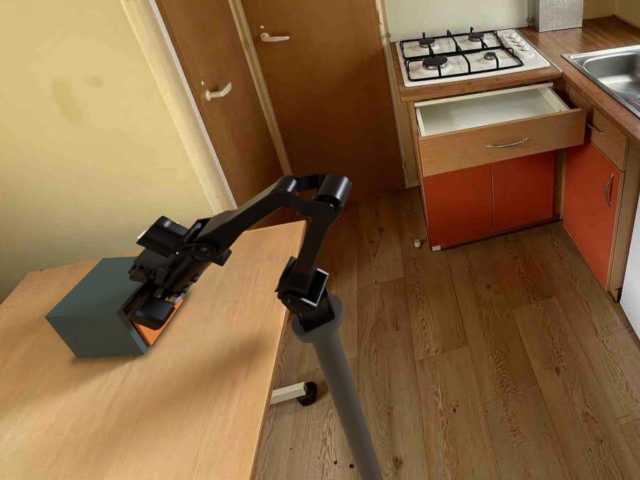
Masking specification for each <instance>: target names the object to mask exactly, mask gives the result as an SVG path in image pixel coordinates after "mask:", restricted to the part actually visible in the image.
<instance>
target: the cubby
mask: <svg viewBox="0 0 640 480" xmlns="http://www.w3.org/2000/svg"><path fill="white" fill-rule="evenodd" d="M137 257H138V255H134V256H117V257H116V256H113V257H102V259H100V260H99V261H98V262H97V264H95V265H94V266H93V267H92V268H91V269H90V270H89V271H88V272H87V274H85V275H84V276H83V277H82V279H80V280H79V281H78V283H76V284H75V286H74V287H72V288H71V289H70V290H69V292H67V293H66V294H65V295H64V297H62V299H60V301H58V303H56V304H55V305H54V306H53V308H51V309H50V310H49V312H47V313H46V315H45V316H44V319H45V320H46V321H47V322H48V324H49V325H50V326H51V327H52V329H53V330H54V331H55V332H56V334H57V335H58V336H59V338H60V339H61V340H62V341H63V342H64V343H65V345H66V347H68V348H69V350H70V351H71V353H73V355H74V356H75V357H76V359H80V360H81V359H94V358H109V357H110V358H111V357H112V358H113V357H124V356H125V357H126V356H141V355H146V352H147V351H148V350H149V348H148V346H146V345H145V343H144V342H143V340H142V339H141V337H140V336H139V334H138V333H137V331H136V330H135V328H134V327H133V325H132V324H131V322H130V321H129V320H127V316H126V315H125V313H124V312H123V308H124V307H125V306H126V305H127V304H128V302H129V301H130V300H131V299H132V298H133V296H134V295H135V294H136V293H137V292H138V291H146V290H149V288H150V287H151V286H152V285H153V283H154V282H155V280H156V278H153V279H148V280H147V281H146V282H145V283H140V282H136V281H131V280H130V279H129V275H130V274H128V271H129V270H130V268H131V266H132V265H133V262H134V260H135V259H136V258H137ZM186 296H187V292H186V293H185V294H184V295H183V297H182V299H183V300H184V299H185V298H186Z"/></svg>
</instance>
